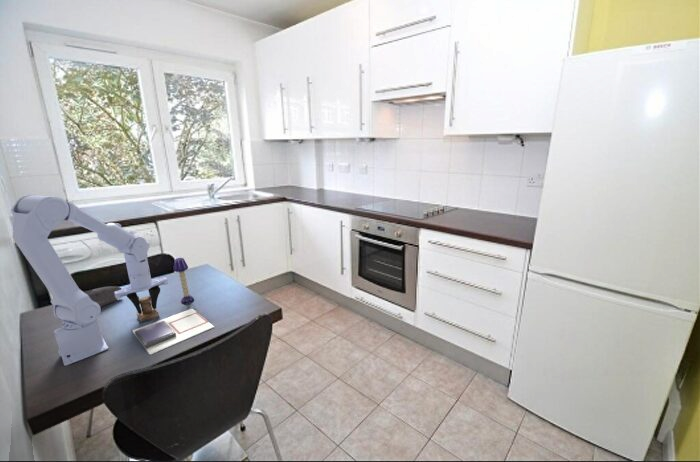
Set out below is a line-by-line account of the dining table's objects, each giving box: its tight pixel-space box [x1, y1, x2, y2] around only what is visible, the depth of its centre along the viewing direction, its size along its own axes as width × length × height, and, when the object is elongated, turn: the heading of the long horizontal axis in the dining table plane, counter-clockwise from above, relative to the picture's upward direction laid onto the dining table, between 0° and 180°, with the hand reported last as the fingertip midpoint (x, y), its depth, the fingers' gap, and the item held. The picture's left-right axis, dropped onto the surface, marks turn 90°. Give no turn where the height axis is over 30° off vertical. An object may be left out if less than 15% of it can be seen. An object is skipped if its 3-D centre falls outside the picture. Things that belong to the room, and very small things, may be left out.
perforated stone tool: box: [83, 285, 122, 308], centre depth 113 cm, size 15×5×7 cm, turn 146°
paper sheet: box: [131, 308, 215, 356], centre depth 98 cm, size 18×17×1 cm
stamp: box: [136, 295, 160, 324], centre depth 105 cm, size 5×5×7 cm
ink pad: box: [134, 321, 176, 350], centre depth 95 cm, size 8×10×1 cm
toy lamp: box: [173, 257, 195, 305], centre depth 114 cm, size 5×5×17 cm
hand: (147, 310), depth 105 cm, fingers closed on stamp, 4 cm apart
